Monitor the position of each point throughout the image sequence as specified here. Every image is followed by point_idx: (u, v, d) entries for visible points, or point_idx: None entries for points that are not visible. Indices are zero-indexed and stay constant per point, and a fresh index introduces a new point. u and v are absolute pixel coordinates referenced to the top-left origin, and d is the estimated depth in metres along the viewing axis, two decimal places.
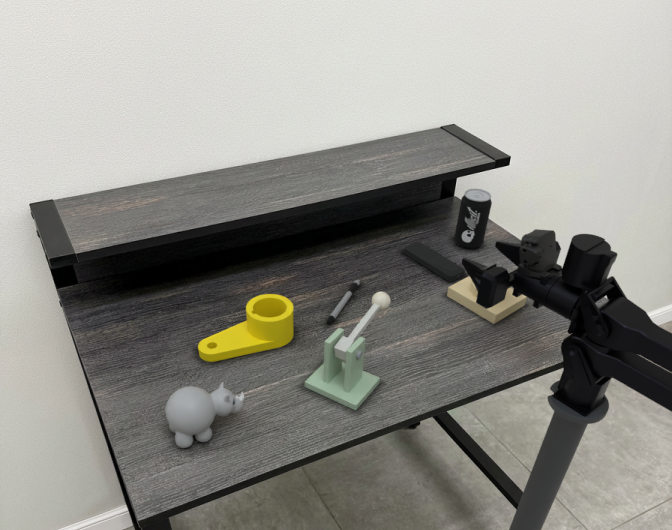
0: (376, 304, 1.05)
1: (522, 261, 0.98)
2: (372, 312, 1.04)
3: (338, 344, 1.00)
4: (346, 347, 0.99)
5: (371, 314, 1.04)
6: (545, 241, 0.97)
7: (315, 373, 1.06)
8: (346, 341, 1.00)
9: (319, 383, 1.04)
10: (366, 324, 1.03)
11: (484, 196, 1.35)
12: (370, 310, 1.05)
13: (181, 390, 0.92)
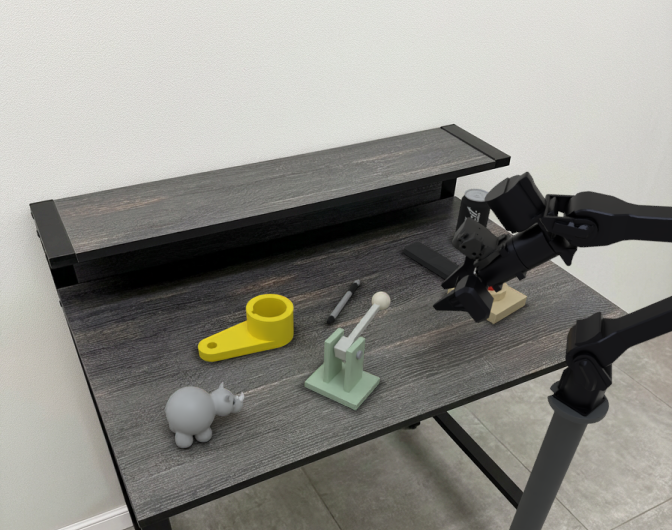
0: (376, 304, 1.05)
1: (472, 256, 0.91)
2: (372, 312, 1.04)
3: (338, 344, 1.00)
4: (346, 347, 0.99)
5: (371, 314, 1.04)
6: (471, 228, 0.93)
7: (315, 373, 1.06)
8: (346, 341, 1.00)
9: (319, 383, 1.04)
10: (366, 324, 1.03)
11: (484, 196, 1.35)
12: (370, 310, 1.05)
13: (181, 390, 0.92)
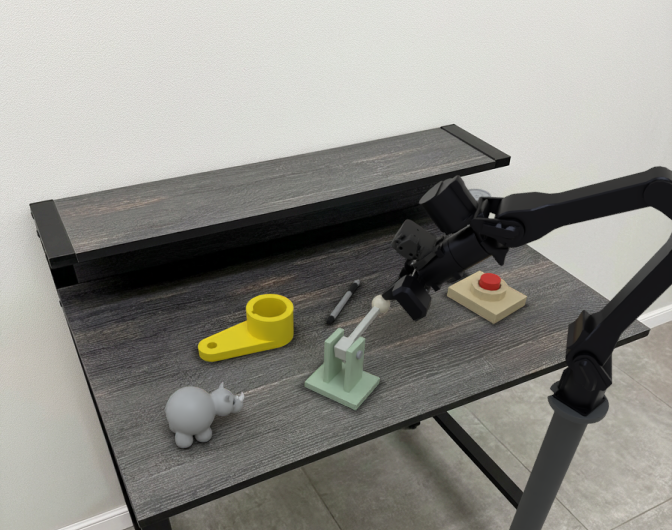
0: (376, 306, 1.06)
1: (409, 257, 0.94)
2: (372, 314, 1.05)
3: (338, 344, 1.00)
4: (346, 347, 0.99)
5: (371, 316, 1.04)
6: (409, 229, 0.96)
7: (315, 373, 1.06)
8: (346, 341, 1.00)
9: (319, 383, 1.04)
10: (366, 326, 1.04)
11: (484, 196, 1.35)
12: (370, 312, 1.05)
13: (181, 390, 0.92)
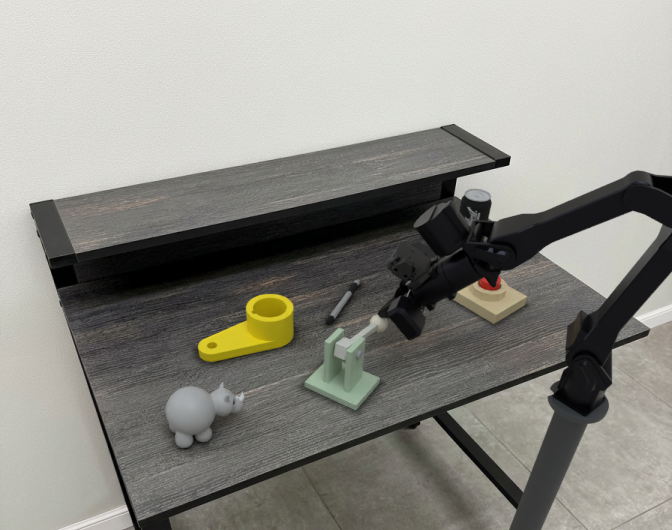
0: (375, 323, 1.08)
1: (403, 278, 0.97)
2: (371, 328, 1.07)
3: (340, 341, 1.00)
4: (348, 344, 0.99)
5: (370, 329, 1.06)
6: (403, 251, 0.99)
7: (315, 373, 1.06)
8: (347, 341, 1.00)
9: (319, 383, 1.04)
10: (365, 335, 1.05)
11: (484, 196, 1.35)
12: (369, 326, 1.07)
13: (181, 390, 0.92)
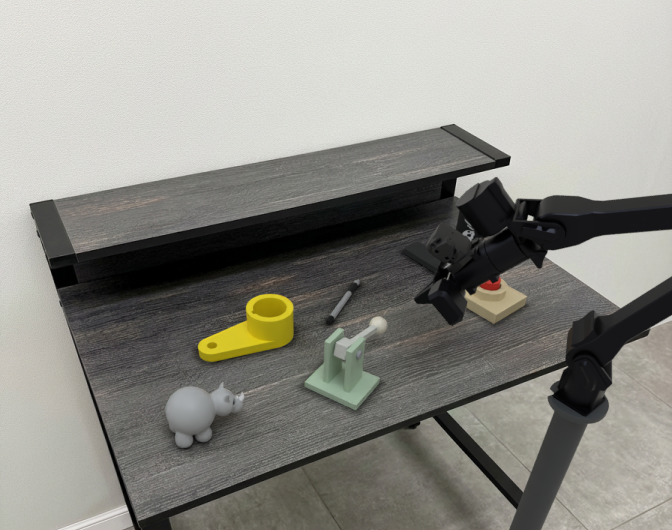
0: (374, 325, 1.09)
1: (444, 260, 0.93)
2: (371, 329, 1.07)
3: (340, 341, 1.00)
4: (348, 344, 0.99)
5: (370, 330, 1.06)
6: (444, 232, 0.94)
7: (315, 373, 1.06)
8: (348, 341, 1.00)
9: (319, 383, 1.04)
10: (365, 337, 1.05)
11: None
12: (369, 328, 1.07)
13: (181, 390, 0.92)
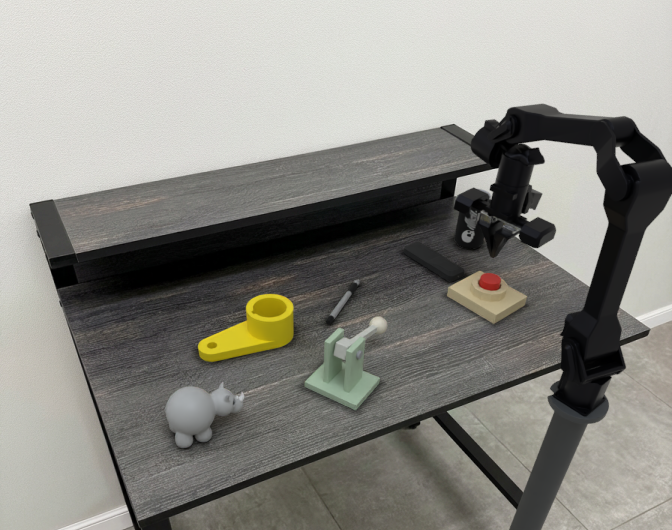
0: (374, 325, 1.09)
1: None
2: (371, 329, 1.07)
3: (340, 341, 1.00)
4: (348, 344, 0.99)
5: (370, 330, 1.06)
6: None
7: (315, 373, 1.06)
8: (348, 341, 1.00)
9: (319, 383, 1.04)
10: (365, 337, 1.05)
11: None
12: (369, 328, 1.07)
13: (181, 390, 0.92)
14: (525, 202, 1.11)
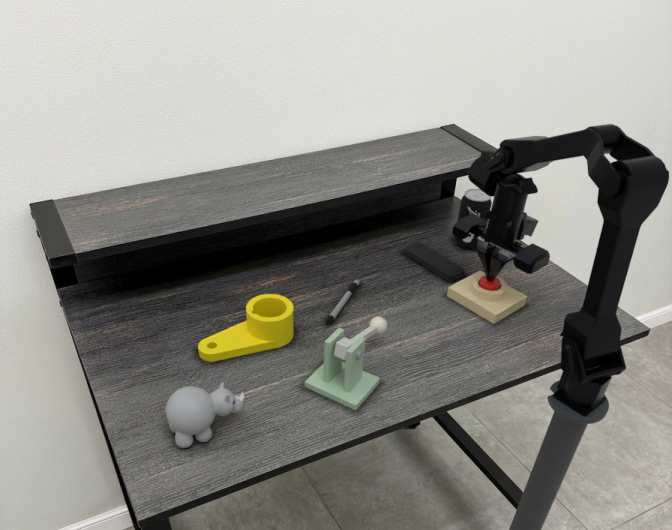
0: (374, 325, 1.09)
1: None
2: (371, 329, 1.07)
3: (340, 341, 1.00)
4: (348, 344, 0.99)
5: (370, 330, 1.06)
6: None
7: (315, 373, 1.06)
8: (348, 341, 1.00)
9: (319, 383, 1.04)
10: (365, 337, 1.05)
11: (484, 196, 1.35)
12: (369, 328, 1.07)
13: (181, 390, 0.92)
14: (520, 229, 1.15)
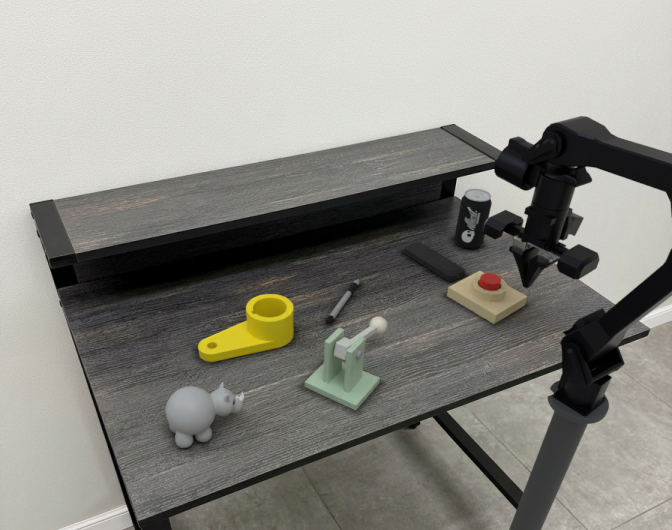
0: (374, 325, 1.09)
1: None
2: (371, 329, 1.07)
3: (340, 341, 1.00)
4: (348, 344, 0.99)
5: (370, 330, 1.06)
6: None
7: (315, 373, 1.06)
8: (348, 341, 1.00)
9: (319, 383, 1.04)
10: (365, 337, 1.05)
11: (484, 196, 1.35)
12: (369, 328, 1.07)
13: (181, 390, 0.92)
14: (564, 227, 0.99)
